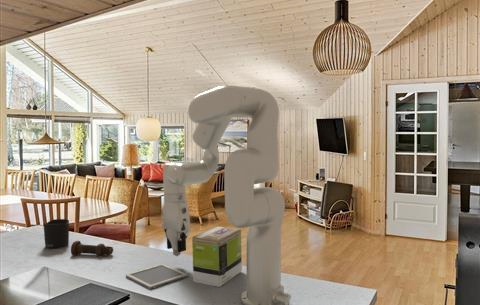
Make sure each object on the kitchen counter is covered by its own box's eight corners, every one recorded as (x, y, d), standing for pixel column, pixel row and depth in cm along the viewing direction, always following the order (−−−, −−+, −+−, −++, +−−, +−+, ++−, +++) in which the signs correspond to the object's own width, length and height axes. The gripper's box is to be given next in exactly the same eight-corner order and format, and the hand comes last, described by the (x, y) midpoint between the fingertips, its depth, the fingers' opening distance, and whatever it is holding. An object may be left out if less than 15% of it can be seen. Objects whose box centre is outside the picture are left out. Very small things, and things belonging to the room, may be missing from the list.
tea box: (216, 267, 138) (216, 225, 137) (242, 272, 133) (242, 228, 132) (191, 282, 124) (191, 235, 124) (219, 288, 120) (219, 239, 119)
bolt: (110, 261, 149) (73, 258, 151) (115, 251, 153) (79, 248, 155) (107, 250, 146) (69, 247, 148) (112, 240, 150) (75, 237, 152)
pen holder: (41, 245, 163) (40, 221, 163) (65, 241, 169) (64, 218, 169) (47, 250, 156) (47, 225, 155) (72, 246, 162) (72, 222, 161)
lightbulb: (182, 258, 135) (180, 226, 135) (165, 258, 137) (163, 226, 136) (188, 253, 141) (186, 223, 141) (171, 253, 143) (170, 223, 142)
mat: (187, 276, 129) (187, 274, 129) (150, 289, 119) (150, 286, 119) (162, 266, 138) (162, 263, 138) (125, 277, 128) (125, 274, 128)
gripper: (199, 198, 135) (200, 251, 136) (169, 194, 147) (170, 243, 148) (181, 201, 130) (183, 256, 130) (151, 197, 142) (153, 247, 142)
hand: (176, 249), depth 139 cm, fingers closed on lightbulb, 5 cm apart
